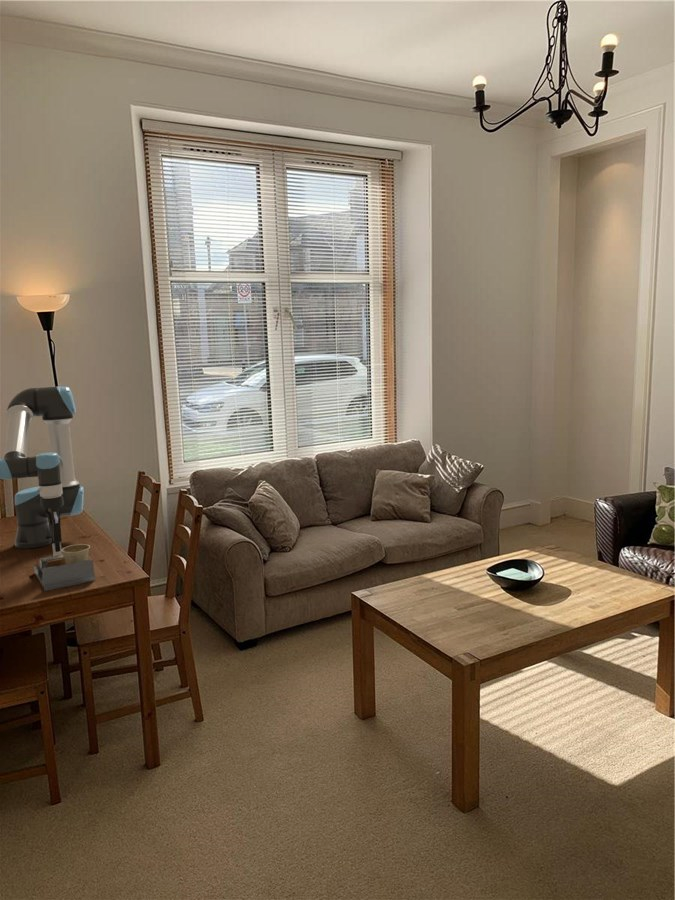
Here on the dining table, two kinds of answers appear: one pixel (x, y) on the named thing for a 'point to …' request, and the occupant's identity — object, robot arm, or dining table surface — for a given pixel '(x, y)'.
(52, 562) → the block
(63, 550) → the flower pot
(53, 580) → the grey open box
